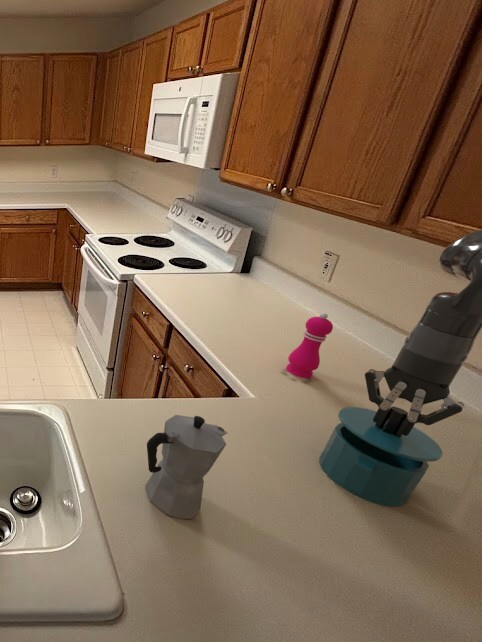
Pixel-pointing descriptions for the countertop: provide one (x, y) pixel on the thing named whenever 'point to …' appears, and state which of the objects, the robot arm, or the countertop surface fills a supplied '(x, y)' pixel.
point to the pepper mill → (309, 347)
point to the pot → (370, 469)
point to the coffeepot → (182, 464)
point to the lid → (390, 434)
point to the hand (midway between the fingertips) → (388, 429)
